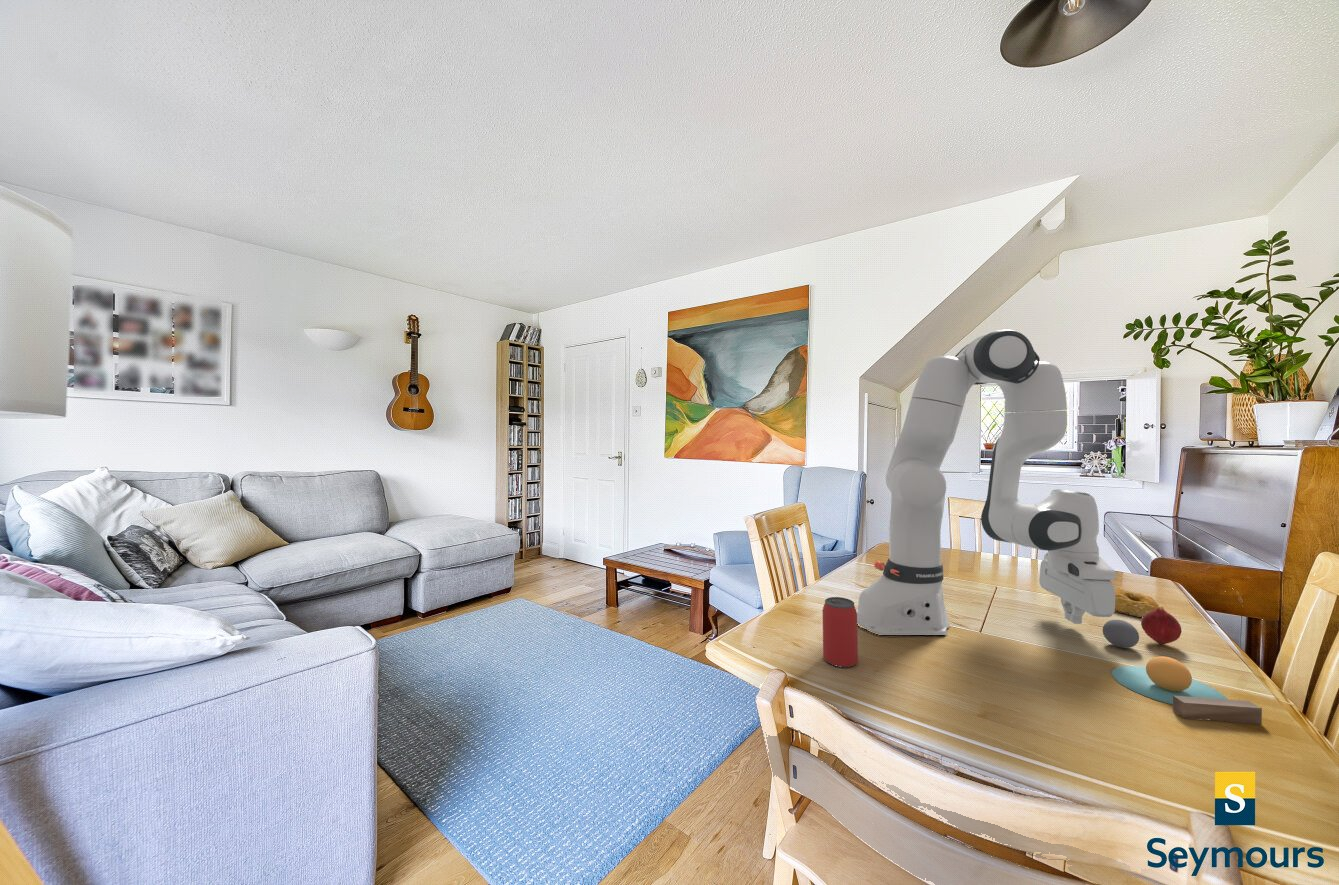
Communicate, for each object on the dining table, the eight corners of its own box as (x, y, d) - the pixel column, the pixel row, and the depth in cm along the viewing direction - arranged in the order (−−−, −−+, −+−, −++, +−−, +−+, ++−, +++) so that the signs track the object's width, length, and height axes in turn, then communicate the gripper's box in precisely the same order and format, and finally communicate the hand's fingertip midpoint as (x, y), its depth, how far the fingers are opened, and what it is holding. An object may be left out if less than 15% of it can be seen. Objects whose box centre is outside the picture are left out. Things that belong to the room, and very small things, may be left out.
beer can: (832, 650, 99) (831, 593, 99) (863, 660, 94) (862, 601, 94) (817, 661, 94) (816, 601, 94) (848, 672, 90) (848, 610, 90)
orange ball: (1169, 658, 80) (1144, 646, 85) (1156, 688, 80) (1132, 673, 85) (1207, 673, 78) (1179, 659, 84) (1194, 703, 79) (1167, 687, 84)
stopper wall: (1261, 724, 72) (1261, 708, 72) (1184, 718, 74) (1184, 702, 74) (1248, 716, 74) (1248, 700, 74) (1173, 711, 76) (1173, 695, 76)
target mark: (1184, 714, 75) (1184, 713, 75) (1091, 671, 88) (1091, 670, 88) (1253, 704, 77) (1253, 703, 77) (1152, 663, 91) (1152, 662, 91)
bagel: (1119, 617, 113) (1119, 597, 113) (1097, 602, 124) (1097, 584, 123) (1174, 623, 110) (1174, 602, 110) (1146, 607, 120) (1146, 588, 120)
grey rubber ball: (1125, 611, 98) (1094, 617, 102) (1131, 627, 94) (1099, 633, 98) (1141, 633, 98) (1110, 639, 102) (1149, 650, 94) (1115, 656, 97)
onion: (1189, 651, 95) (1189, 612, 95) (1156, 649, 96) (1155, 610, 96) (1165, 639, 101) (1165, 602, 101) (1134, 637, 102) (1134, 600, 102)
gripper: (1031, 549, 118) (1031, 604, 118) (1087, 573, 98) (1087, 639, 98) (1059, 550, 117) (1060, 605, 117) (1122, 574, 96) (1122, 641, 97)
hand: (1073, 621), depth 107 cm, fingers closed
